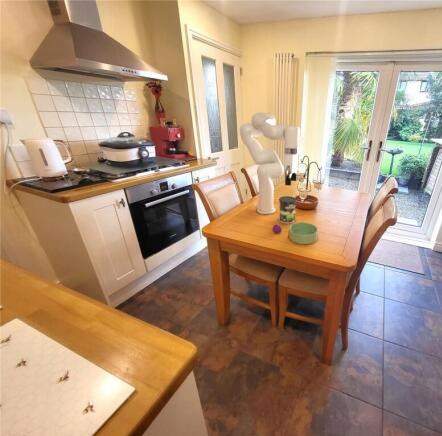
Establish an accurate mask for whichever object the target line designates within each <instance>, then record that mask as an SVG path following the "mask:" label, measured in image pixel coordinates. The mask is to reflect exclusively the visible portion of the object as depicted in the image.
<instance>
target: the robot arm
mask: <svg viewBox="0 0 442 436" xmlns="http://www.w3.org/2000/svg"><path fill="white" fill-rule="evenodd" d="M250 120H251V121H250V122H246V123H243V124H241V125H240V128H239V135H240V138H241V140H242V142H243V144H244V145H245V146H246V148H247V150H248V152H249V154H250V157H251V158H252V161H253V162H254V164H255V165H257V168H256V174H257V175H256V176H257V181H258V198H259V199H258V202H254V207H257V209H256V212H258V214H261V215H271V214H274V213H275V212H277V211H276V210H277V208H276V207H275V206H274V205H275V204H274V203H275V202H274V199H275V198H274V195H275V194H274V193H275V192H274V190H275V189H274V183H273V182H272V179H277V178H281V177H283V175H284V185H285V186H289V187H290V186H292V182H297V176H298V175H297V173H298V172H297V170H298V155H299V154H300V127H299V126H297V125H291V124H276V117H275V116H274V114H273V113H271V112H255V113H253V115H251V118H250ZM260 137H265V138H267V139H269V140H271V141H284V151H283V152H284V160H283V164H282V161H281V160H280V158H279V156H278V154H277V152H276V151H275V150H274V149H272V148H263V147H262V144H261V143H260V142H259V141H258V140H257V139H256V138H260Z"/></svg>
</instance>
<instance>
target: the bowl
mask: <svg viewBox="0 0 442 436" xmlns="http://www.w3.org/2000/svg"><path fill="white" fill-rule="evenodd" d="M318 235H319V228H318V227H317V225H315V224H313V223H310V222H303V221H302V222H301V221H300V222H293V223H291V225H289V227H288V238H289V240H290V241H291V242H293V243H295V244H300V245H308V244H309V245H310V244H313V243H315V242H317V240H318Z"/></svg>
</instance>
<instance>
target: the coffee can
mask: <svg viewBox="0 0 442 436" xmlns="http://www.w3.org/2000/svg"><path fill="white" fill-rule="evenodd" d="M296 204H297V198H296V197H294V196H289V195H287V196H286V195H284V196H280V197H279V198H278V221H279V222H280V223H282V224H286V225H287V224H294V223H295V221H296Z"/></svg>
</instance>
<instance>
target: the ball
mask: <svg viewBox="0 0 442 436" xmlns="http://www.w3.org/2000/svg"><path fill="white" fill-rule="evenodd" d="M272 232H273V233H274V234H277V235H278V234H280V233H281V232H282V226H281V225H280V224H274V225H273V226H272Z"/></svg>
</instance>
